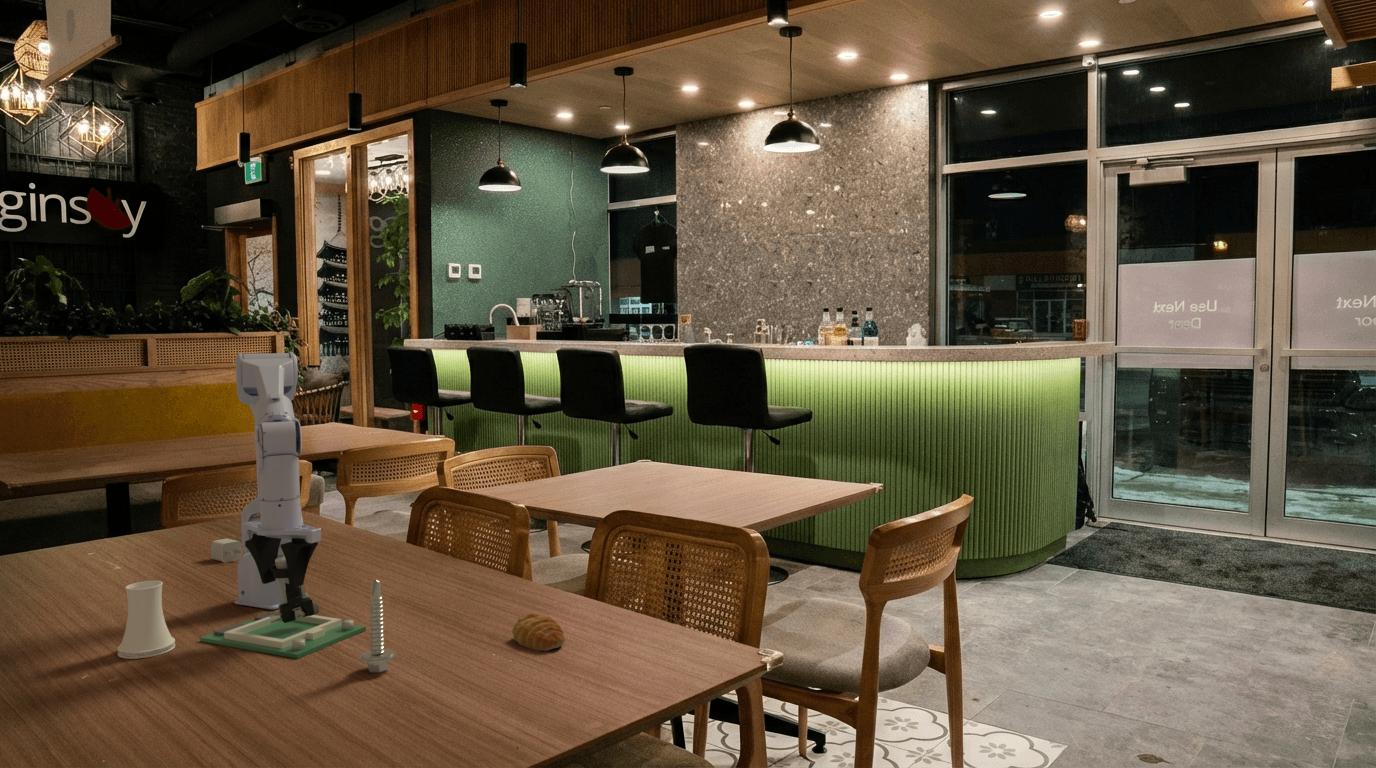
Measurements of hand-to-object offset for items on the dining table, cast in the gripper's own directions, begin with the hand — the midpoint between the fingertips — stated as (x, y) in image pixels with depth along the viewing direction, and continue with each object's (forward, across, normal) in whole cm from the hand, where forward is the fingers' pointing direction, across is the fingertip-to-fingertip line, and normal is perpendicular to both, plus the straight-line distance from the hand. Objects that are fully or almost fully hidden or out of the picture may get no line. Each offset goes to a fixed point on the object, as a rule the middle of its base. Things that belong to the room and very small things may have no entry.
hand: (282, 584), depth 147 cm
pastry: (+9, +39, +13) cm, 42 cm away
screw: (+8, +24, -6) cm, 26 cm away
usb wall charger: (+8, -49, +32) cm, 59 cm away
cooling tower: (+8, -14, -13) cm, 21 cm away
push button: (+6, 0, +2) cm, 7 cm away
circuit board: (+8, 0, 0) cm, 8 cm away
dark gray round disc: (+9, -7, +10) cm, 15 cm away
